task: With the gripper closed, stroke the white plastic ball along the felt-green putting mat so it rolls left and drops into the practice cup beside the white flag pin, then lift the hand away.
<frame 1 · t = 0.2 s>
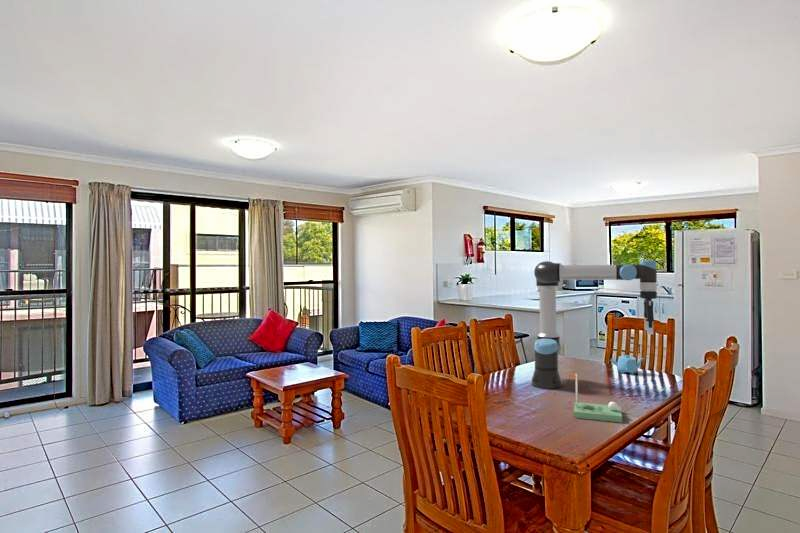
hand: (648, 332, 236), 28 cm above the table, fingers open, 13 cm apart
green: (597, 414, 195), on the table
ball: (612, 406, 192), point 4 cm above the table, touching green
teapot: (627, 372, 268), on the table
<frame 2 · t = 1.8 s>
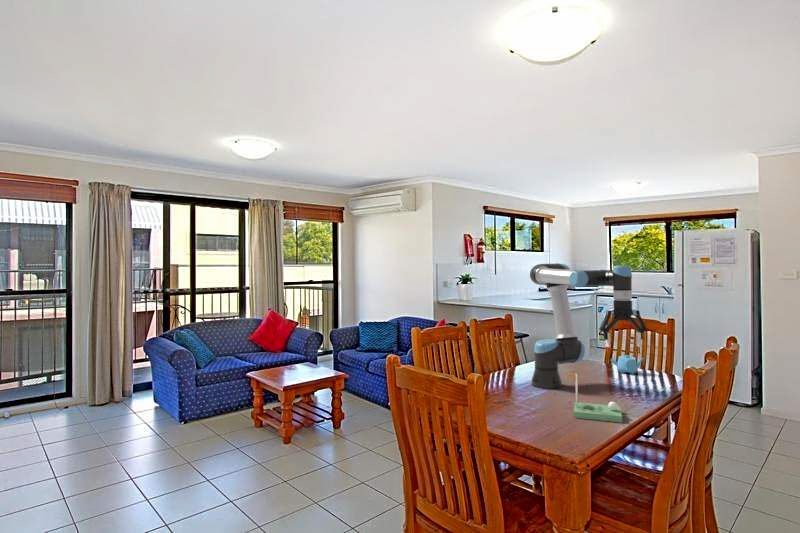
hand: (623, 346, 209), 26 cm above the table, fingers open, 13 cm apart
nothing on the table moved.
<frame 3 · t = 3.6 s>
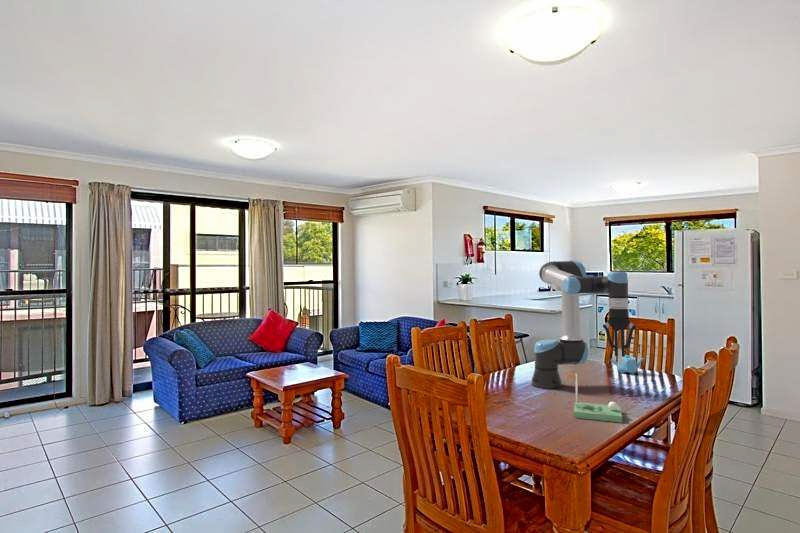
hand: (620, 364, 195), 21 cm above the table, fingers closed
nothing on the table moved.
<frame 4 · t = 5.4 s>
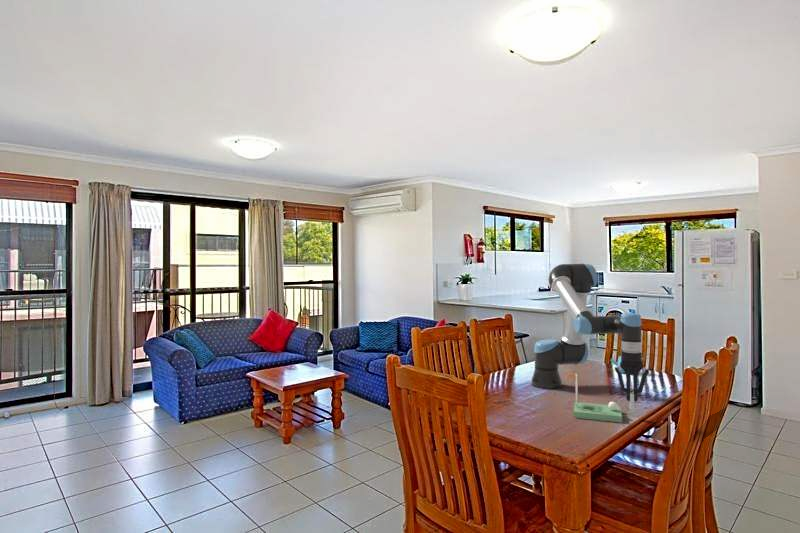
hand: (631, 408, 190), 4 cm above the table, fingers closed
nothing on the table moved.
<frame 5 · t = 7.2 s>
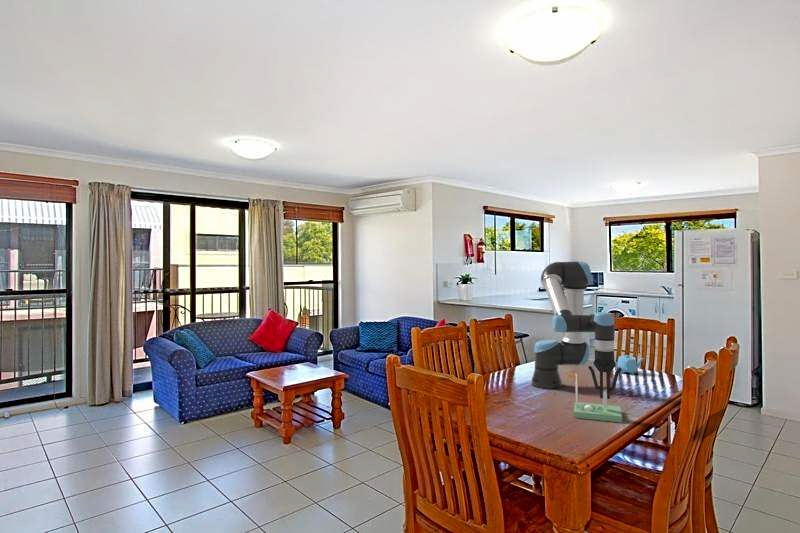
hand: (605, 406, 193), 4 cm above the table, fingers closed
ball: (588, 409, 196), point 2 cm above the table, tilted 39°, touching green
everything else where it was.
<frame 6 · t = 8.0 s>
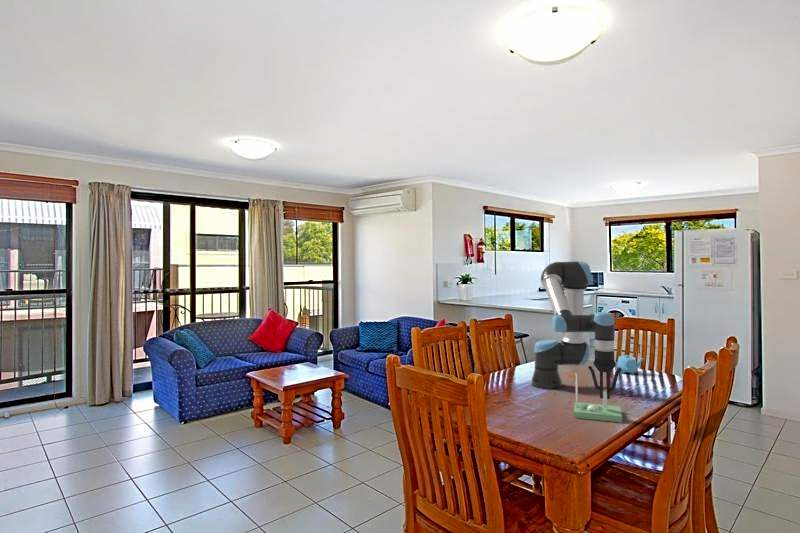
hand: (605, 406, 193), 4 cm above the table, fingers closed
ball: (591, 409, 195), point 2 cm above the table, tilted 77°, touching green
everything else where it was.
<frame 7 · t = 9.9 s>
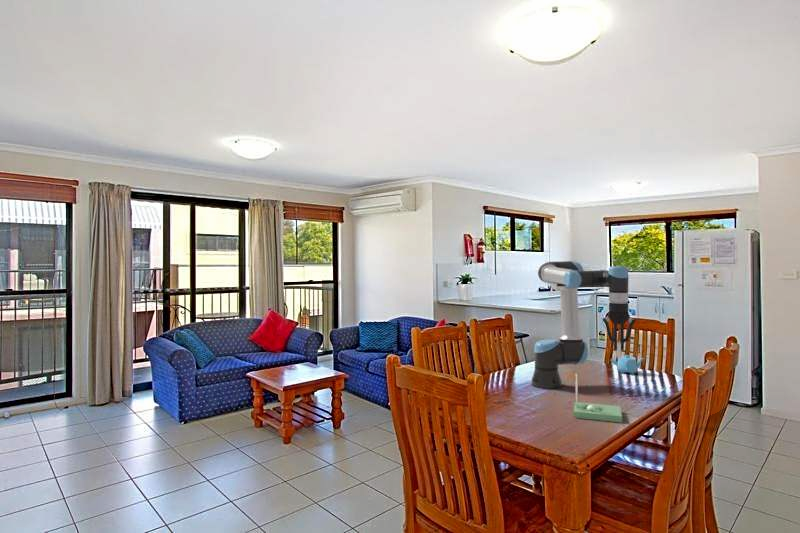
hand: (618, 357, 198), 23 cm above the table, fingers closed
nothing on the table moved.
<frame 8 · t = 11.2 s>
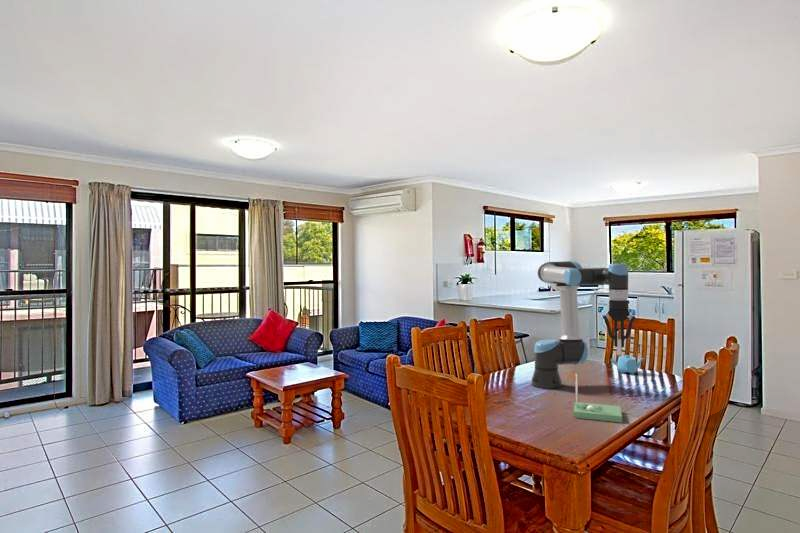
hand: (619, 354, 198), 24 cm above the table, fingers closed
nothing on the table moved.
at the end: ball 0.6 cm from the target spot in the green, point 2.0 cm above the green's base; the gripper is holding nothing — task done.
